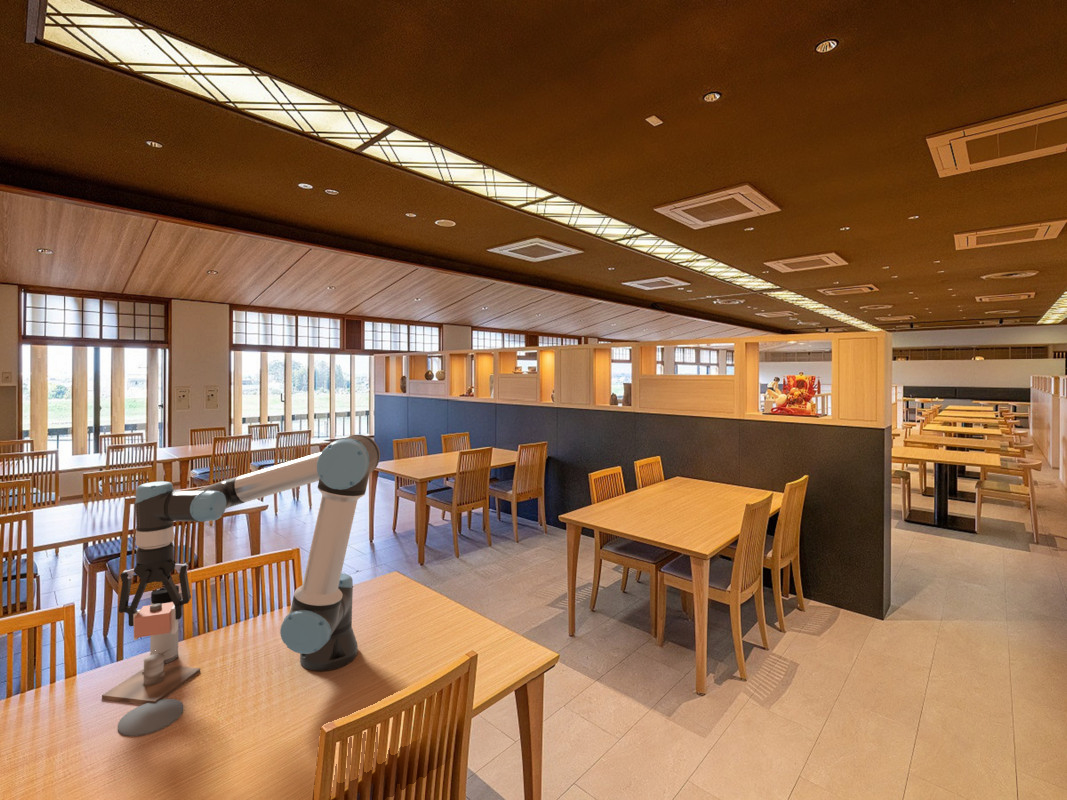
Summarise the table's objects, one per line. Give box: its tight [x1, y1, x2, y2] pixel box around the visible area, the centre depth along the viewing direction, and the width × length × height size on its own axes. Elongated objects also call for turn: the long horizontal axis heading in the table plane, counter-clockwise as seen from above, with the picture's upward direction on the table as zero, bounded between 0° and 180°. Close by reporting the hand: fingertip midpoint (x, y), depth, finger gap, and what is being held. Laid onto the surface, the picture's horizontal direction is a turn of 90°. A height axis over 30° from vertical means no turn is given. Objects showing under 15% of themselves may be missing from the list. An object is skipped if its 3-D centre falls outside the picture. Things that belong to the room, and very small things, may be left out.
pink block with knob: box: [133, 602, 174, 639], centre depth 126 cm, size 7×7×6 cm
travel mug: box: [149, 584, 180, 665], centre depth 138 cm, size 6×7×20 cm
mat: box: [117, 698, 185, 737], centre depth 115 cm, size 12×12×1 cm
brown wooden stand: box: [101, 654, 201, 705], centre depth 127 cm, size 14×14×7 cm
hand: (156, 634), depth 127 cm, fingers closed on pink block with knob, 7 cm apart
